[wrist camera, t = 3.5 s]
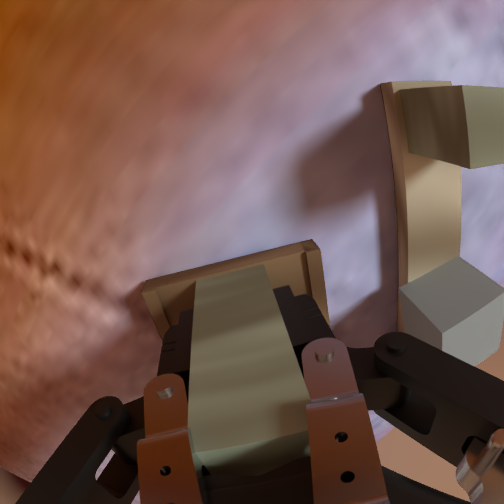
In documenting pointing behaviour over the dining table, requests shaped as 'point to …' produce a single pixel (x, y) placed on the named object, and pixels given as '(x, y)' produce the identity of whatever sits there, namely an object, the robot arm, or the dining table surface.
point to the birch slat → (437, 164)
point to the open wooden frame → (243, 356)
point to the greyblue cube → (455, 310)
